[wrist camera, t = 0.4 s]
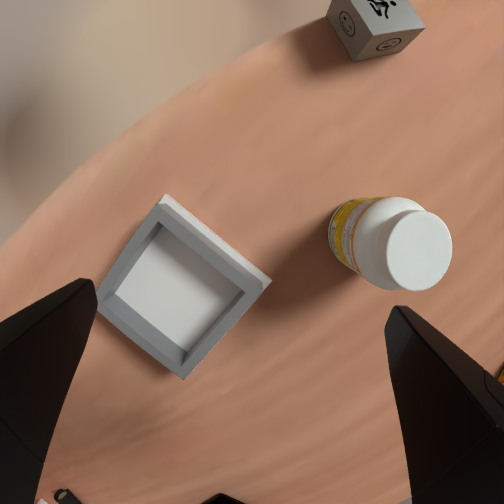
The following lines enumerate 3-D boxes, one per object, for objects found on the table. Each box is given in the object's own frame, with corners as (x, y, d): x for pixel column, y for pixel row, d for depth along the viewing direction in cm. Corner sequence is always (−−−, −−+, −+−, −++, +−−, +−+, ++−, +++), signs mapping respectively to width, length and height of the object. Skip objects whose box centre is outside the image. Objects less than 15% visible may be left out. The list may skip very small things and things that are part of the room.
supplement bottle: (312, 237, 24) (349, 258, 14) (357, 183, 23) (416, 172, 14) (362, 281, 24) (418, 324, 15) (404, 229, 24) (477, 245, 14)
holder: (192, 368, 25) (185, 387, 22) (98, 292, 24) (81, 303, 21) (271, 279, 24) (274, 290, 21) (167, 194, 23) (155, 192, 20)
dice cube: (325, 16, 21) (338, -17, 16) (373, 7, 21) (392, -22, 16) (353, 62, 22) (373, 35, 17) (400, 52, 21) (425, 27, 16)
